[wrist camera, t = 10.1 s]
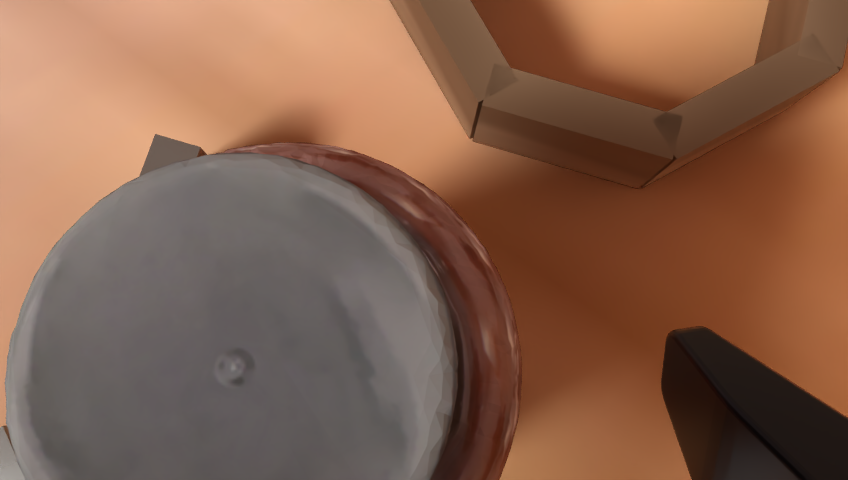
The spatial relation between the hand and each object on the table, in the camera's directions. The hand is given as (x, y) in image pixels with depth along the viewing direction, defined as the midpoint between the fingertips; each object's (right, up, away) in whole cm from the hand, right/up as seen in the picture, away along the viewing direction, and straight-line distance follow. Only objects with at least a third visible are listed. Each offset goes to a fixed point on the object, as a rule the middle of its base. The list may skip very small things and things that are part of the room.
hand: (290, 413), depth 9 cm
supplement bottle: (0, -1, +9) cm, 9 cm away
